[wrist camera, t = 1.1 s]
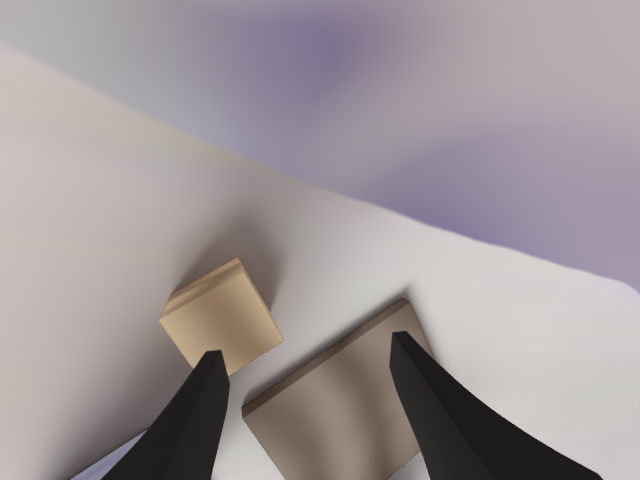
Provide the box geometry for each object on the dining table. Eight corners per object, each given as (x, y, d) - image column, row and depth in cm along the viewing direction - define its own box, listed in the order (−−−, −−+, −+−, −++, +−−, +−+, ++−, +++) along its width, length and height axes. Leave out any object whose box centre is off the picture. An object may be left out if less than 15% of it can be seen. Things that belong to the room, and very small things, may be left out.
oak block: (210, 348, 22) (208, 389, 17) (171, 293, 20) (158, 320, 16) (270, 311, 23) (283, 340, 18) (237, 256, 21) (243, 271, 17)
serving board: (319, 519, 26) (323, 534, 25) (241, 407, 23) (242, 418, 22) (450, 409, 30) (460, 417, 29) (402, 297, 26) (410, 302, 25)
